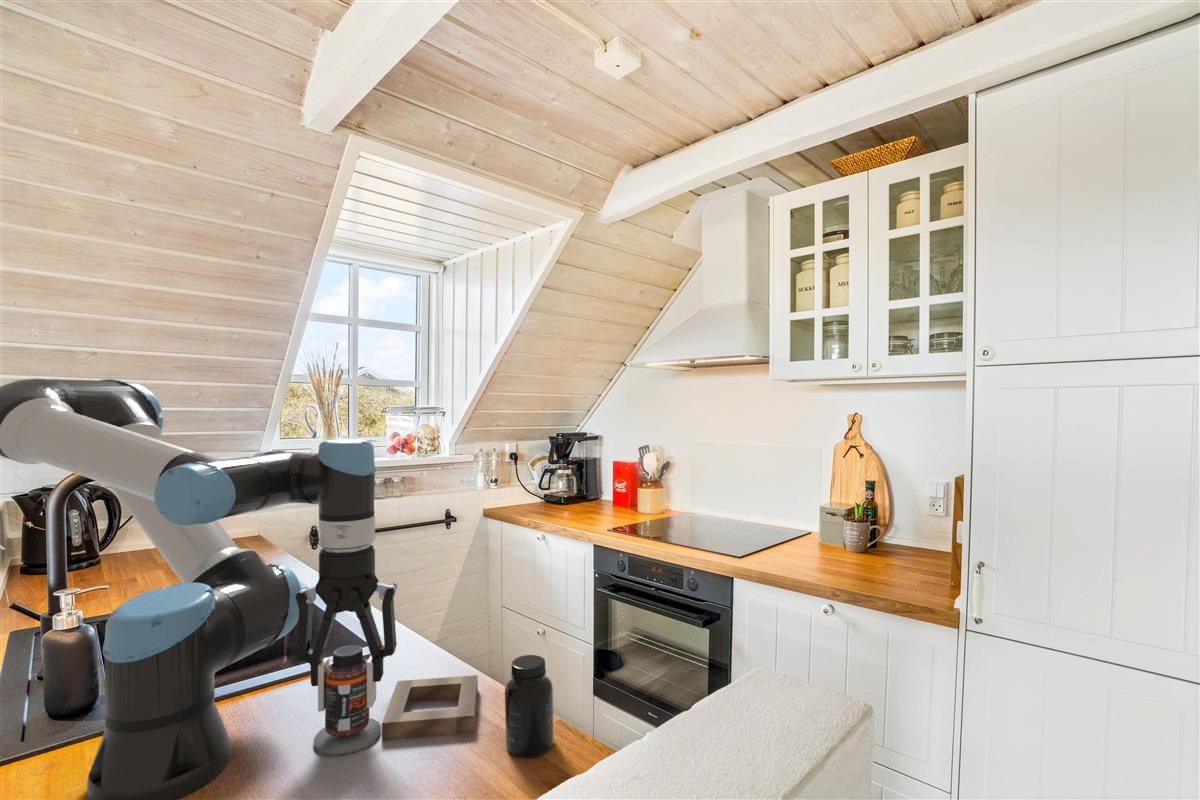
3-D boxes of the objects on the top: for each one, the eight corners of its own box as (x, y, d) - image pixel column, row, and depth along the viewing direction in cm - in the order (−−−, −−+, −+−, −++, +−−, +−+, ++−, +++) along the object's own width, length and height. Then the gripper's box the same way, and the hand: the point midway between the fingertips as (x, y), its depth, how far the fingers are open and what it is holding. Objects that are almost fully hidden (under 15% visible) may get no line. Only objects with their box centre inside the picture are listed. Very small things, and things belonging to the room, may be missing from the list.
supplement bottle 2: (533, 726, 91) (533, 647, 91) (563, 745, 86) (563, 661, 86) (495, 745, 86) (495, 661, 86) (524, 766, 81) (524, 677, 81)
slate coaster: (305, 758, 83) (305, 754, 83) (324, 723, 91) (324, 719, 91) (373, 752, 84) (373, 748, 84) (386, 718, 93) (386, 714, 93)
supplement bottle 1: (353, 741, 84) (353, 660, 84) (316, 736, 85) (315, 657, 85) (377, 719, 90) (377, 643, 90) (342, 714, 91) (341, 640, 91)
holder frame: (381, 740, 87) (381, 723, 87) (397, 695, 100) (397, 680, 100) (473, 732, 89) (473, 715, 89) (477, 689, 102) (477, 675, 102)
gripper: (267, 555, 82) (267, 724, 82) (410, 550, 85) (411, 712, 85) (286, 542, 90) (287, 696, 90) (418, 537, 93) (418, 687, 93)
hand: (347, 704), depth 88 cm, fingers closed on supplement bottle 1, 6 cm apart
